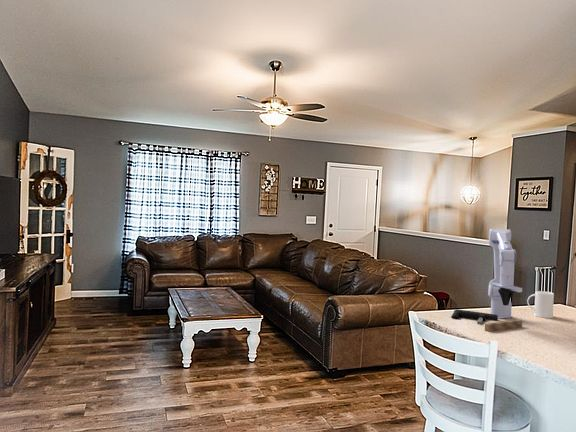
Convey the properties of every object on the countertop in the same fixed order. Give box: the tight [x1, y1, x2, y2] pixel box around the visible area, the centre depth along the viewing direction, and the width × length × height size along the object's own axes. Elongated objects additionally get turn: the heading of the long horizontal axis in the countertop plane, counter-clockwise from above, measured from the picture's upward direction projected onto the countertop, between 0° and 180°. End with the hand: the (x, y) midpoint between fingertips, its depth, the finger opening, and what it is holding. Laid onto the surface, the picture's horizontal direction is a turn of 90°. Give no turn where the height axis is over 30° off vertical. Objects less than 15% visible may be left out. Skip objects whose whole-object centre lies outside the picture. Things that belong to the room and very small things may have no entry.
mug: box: [526, 290, 555, 319], centre depth 225 cm, size 12×8×12 cm
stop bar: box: [484, 318, 523, 333], centre depth 198 cm, size 22×2×3 cm, turn 116°
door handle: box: [450, 309, 499, 325], centre depth 213 cm, size 3×20×16 cm
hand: (505, 305), depth 203 cm, fingers closed
